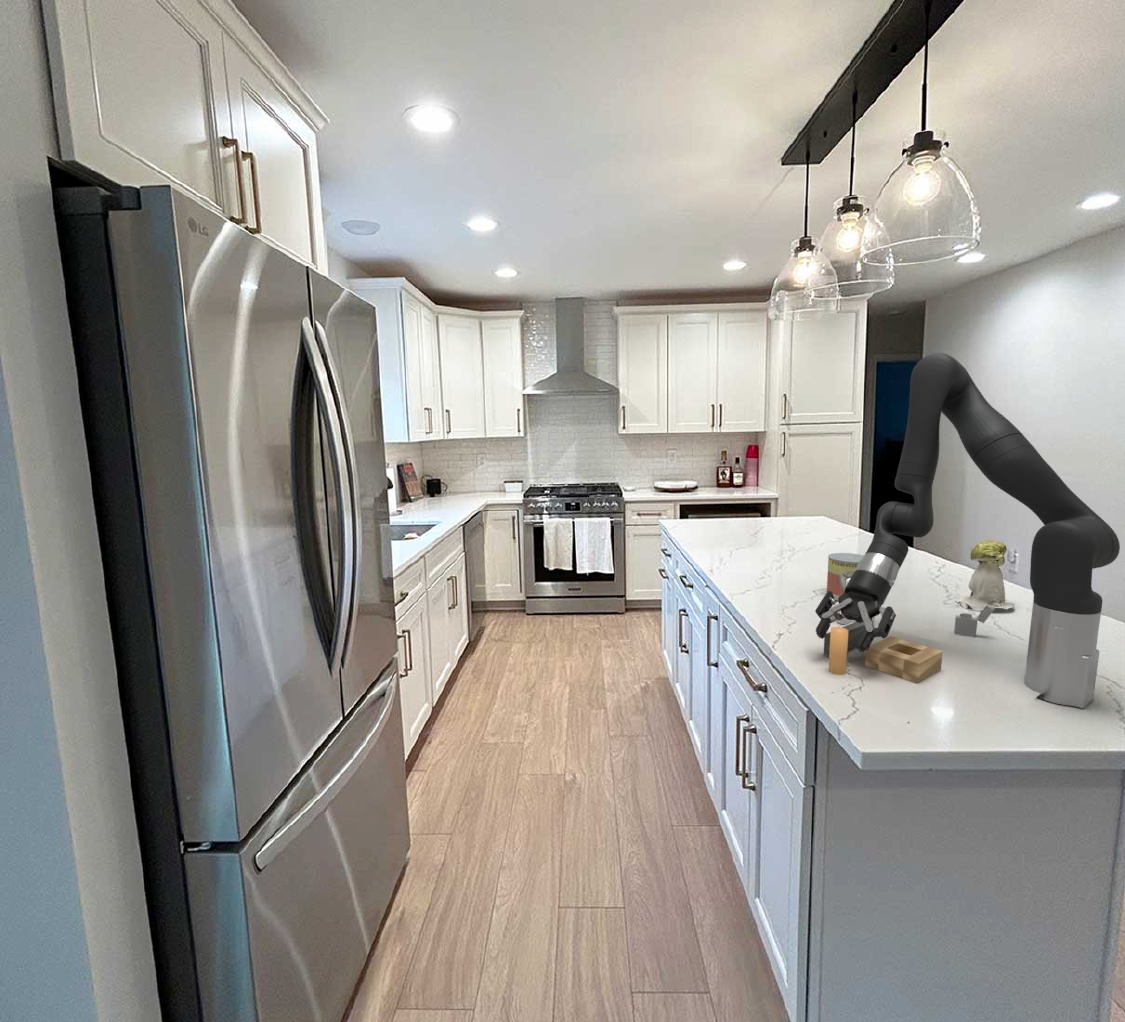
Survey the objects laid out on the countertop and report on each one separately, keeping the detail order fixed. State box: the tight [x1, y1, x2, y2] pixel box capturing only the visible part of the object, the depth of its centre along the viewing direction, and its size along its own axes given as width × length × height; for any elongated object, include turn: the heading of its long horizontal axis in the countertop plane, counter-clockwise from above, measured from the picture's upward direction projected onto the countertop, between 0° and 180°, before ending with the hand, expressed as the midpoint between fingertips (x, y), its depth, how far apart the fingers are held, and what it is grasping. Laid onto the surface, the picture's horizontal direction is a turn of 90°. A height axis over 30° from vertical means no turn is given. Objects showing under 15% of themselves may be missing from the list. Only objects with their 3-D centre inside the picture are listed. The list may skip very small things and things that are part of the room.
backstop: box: [823, 622, 867, 658], centre depth 116 cm, size 20×14×6 cm
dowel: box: [828, 626, 848, 676], centre depth 112 cm, size 3×3×10 cm
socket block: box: [865, 636, 944, 684], centre depth 113 cm, size 10×10×4 cm
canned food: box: [826, 552, 865, 596], centre depth 163 cm, size 11×11×12 cm
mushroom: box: [955, 540, 1015, 612], centre depth 151 cm, size 12×13×18 cm
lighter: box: [953, 604, 995, 638], centre depth 132 cm, size 7×2×8 cm, turn 59°
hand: (838, 643), depth 112 cm, fingers open, 8 cm apart
